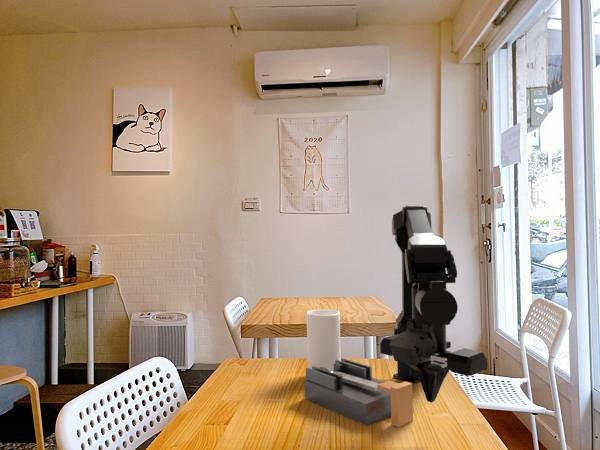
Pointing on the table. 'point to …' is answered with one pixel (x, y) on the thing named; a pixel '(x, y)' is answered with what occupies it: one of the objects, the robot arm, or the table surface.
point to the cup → (323, 338)
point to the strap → (358, 381)
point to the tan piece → (399, 401)
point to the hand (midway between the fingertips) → (430, 401)
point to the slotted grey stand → (347, 392)
